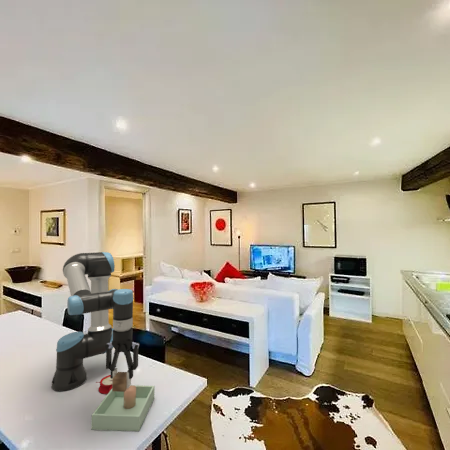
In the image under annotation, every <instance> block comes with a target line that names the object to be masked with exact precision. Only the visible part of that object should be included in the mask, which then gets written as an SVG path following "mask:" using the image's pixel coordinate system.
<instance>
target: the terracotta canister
mask: <svg viewBox="0 0 450 450" xmlns="http://www.w3.org/2000/svg"><path fill="white" fill-rule="evenodd" d="M135 405H136V386H133V384H131V386H130V387H129V388H127V389H126V391H125V392H124V408H125V409H131V408H133V407H134V406H135Z"/></svg>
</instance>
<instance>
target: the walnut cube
mask: <svg viewBox="0 0 450 450" xmlns="http://www.w3.org/2000/svg"><path fill="white" fill-rule="evenodd" d="M126 387H127V371H117V374H116V375H115V376H114V377H113V385H112V391H117V392H125V391H126V389H127V388H126Z"/></svg>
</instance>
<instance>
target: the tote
mask: <svg viewBox="0 0 450 450" xmlns="http://www.w3.org/2000/svg"><path fill="white" fill-rule="evenodd" d="M131 385H133V384H131ZM131 385H130V386H131ZM133 386H136V405H135V406H134V407H133V408H131V409H125V408H124V392H117V391H112V389H111V390H110V392H109V393H108V394H105V395H106V396H105V397H104V398H103V400H102V401H101V402H100V403H99V405H98V406H97V408H96V409H95V410H94V411H93V413H92V414H91V421H90V422H91V423H90V424H91V425H90V428H91V429H90V431H91V430H93V431H114V432H115V431H119V432H120V431H121V432H140V430H141V428H142V426H143V424H144V422H145V420H146V417H147V415H148V412H149V410H150V409H151V407H152V404H153V402H154V400H155V393H156V392H155V387H156V386H155V385H139V384H135V385H133Z"/></svg>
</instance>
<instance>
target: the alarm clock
mask: <svg viewBox="0 0 450 450" xmlns="http://www.w3.org/2000/svg"><path fill="white" fill-rule="evenodd" d="M110 375H111V374H107V375H106V376H104V377H102V378H101V379H100V381H96V382H95V383H97V384H99V387H98V388H97V389H98V392H99V394H102V395H107V394H108V393H109V392H110V390H111V389H112V381H113V379H111V377H110Z"/></svg>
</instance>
